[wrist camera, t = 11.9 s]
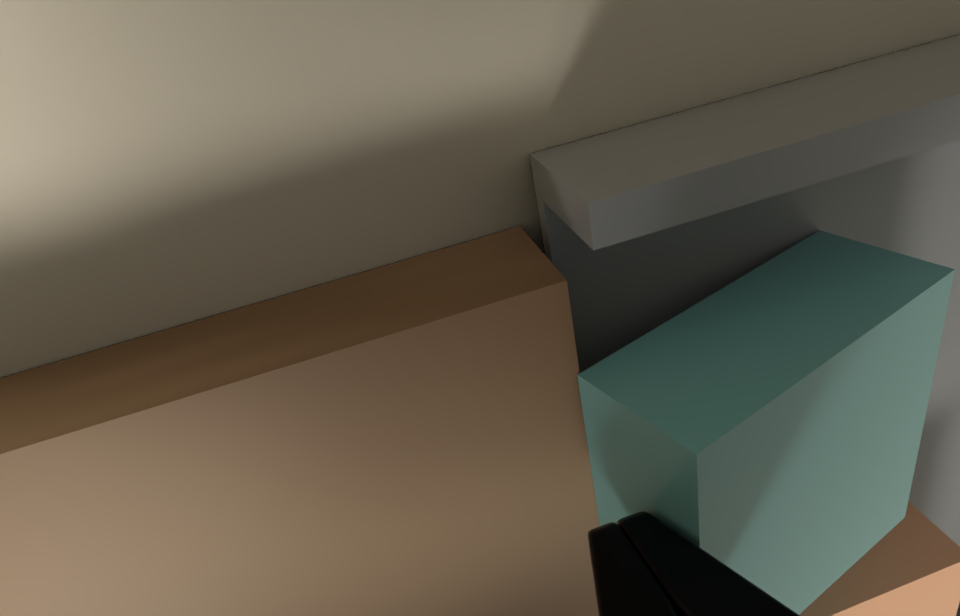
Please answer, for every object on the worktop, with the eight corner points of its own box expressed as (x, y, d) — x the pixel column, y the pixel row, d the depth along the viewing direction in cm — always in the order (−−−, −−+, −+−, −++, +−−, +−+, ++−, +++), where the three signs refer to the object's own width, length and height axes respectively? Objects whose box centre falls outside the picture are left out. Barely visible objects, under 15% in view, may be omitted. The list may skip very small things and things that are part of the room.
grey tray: (1012, 584, 19) (1085, 648, 17) (620, 745, 17) (658, 832, 16) (1236, -44, 11) (1417, -40, 9) (529, 154, 9) (587, 202, 7)
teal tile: (801, 457, 13) (904, 516, 12) (611, 606, 11) (704, 701, 10) (819, 229, 11) (954, 269, 9) (577, 374, 9) (696, 454, 7)
